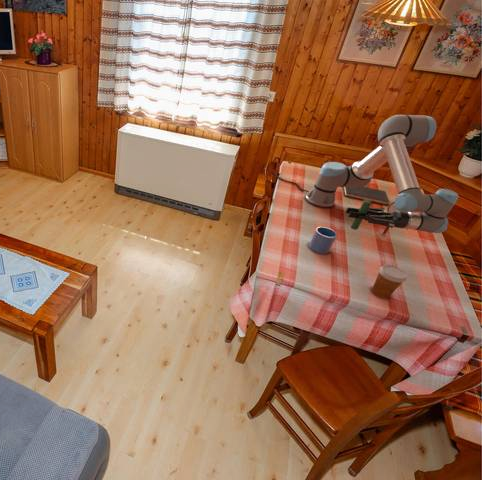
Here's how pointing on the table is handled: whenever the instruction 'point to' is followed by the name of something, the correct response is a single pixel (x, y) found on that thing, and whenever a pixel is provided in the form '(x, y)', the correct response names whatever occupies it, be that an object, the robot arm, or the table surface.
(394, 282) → the disposable coffee cup
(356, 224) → the stick
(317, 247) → the tumbler
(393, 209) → the magnifying glass
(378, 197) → the hardcover book
